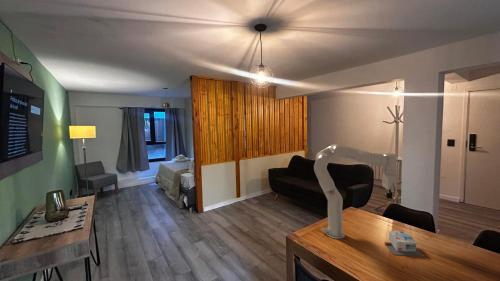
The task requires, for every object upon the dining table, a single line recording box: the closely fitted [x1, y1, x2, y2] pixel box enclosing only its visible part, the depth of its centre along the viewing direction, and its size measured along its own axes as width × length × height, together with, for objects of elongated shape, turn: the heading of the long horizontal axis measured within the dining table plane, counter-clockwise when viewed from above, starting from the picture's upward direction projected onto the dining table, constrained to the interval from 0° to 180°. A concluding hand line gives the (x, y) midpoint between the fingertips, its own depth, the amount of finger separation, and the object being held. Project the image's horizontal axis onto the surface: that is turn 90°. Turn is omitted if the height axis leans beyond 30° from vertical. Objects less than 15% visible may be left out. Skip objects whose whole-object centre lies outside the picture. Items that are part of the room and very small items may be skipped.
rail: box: [384, 241, 393, 246], centre depth 136 cm, size 16×2×2 cm, turn 81°
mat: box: [385, 245, 424, 257], centre depth 130 cm, size 16×10×1 cm, turn 81°
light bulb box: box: [388, 230, 417, 252], centre depth 133 cm, size 11×7×11 cm
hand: (389, 198), depth 145 cm, fingers closed
